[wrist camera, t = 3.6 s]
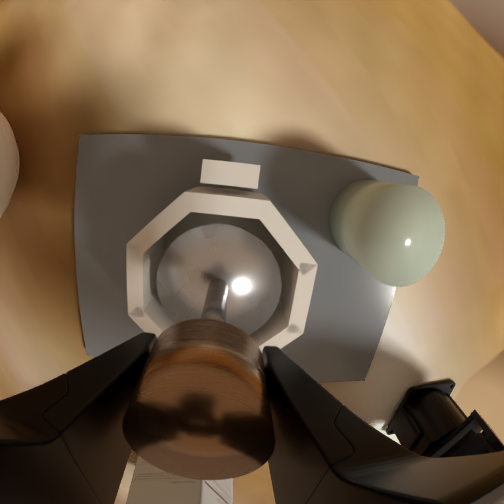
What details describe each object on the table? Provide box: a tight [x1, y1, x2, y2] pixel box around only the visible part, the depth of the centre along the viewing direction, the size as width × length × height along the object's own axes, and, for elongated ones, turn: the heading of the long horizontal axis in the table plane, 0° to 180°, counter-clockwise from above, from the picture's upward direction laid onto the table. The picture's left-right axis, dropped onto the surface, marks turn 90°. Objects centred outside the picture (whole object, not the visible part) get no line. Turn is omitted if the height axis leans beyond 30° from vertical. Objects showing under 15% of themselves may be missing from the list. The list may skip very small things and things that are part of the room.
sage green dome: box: [329, 180, 445, 287], centre depth 15 cm, size 5×5×5 cm
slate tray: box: [74, 134, 419, 382], centre depth 18 cm, size 22×16×1 cm
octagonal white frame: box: [126, 159, 318, 353], centre depth 15 cm, size 8×10×5 cm
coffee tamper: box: [122, 223, 282, 480], centre depth 9 cm, size 6×6×9 cm
